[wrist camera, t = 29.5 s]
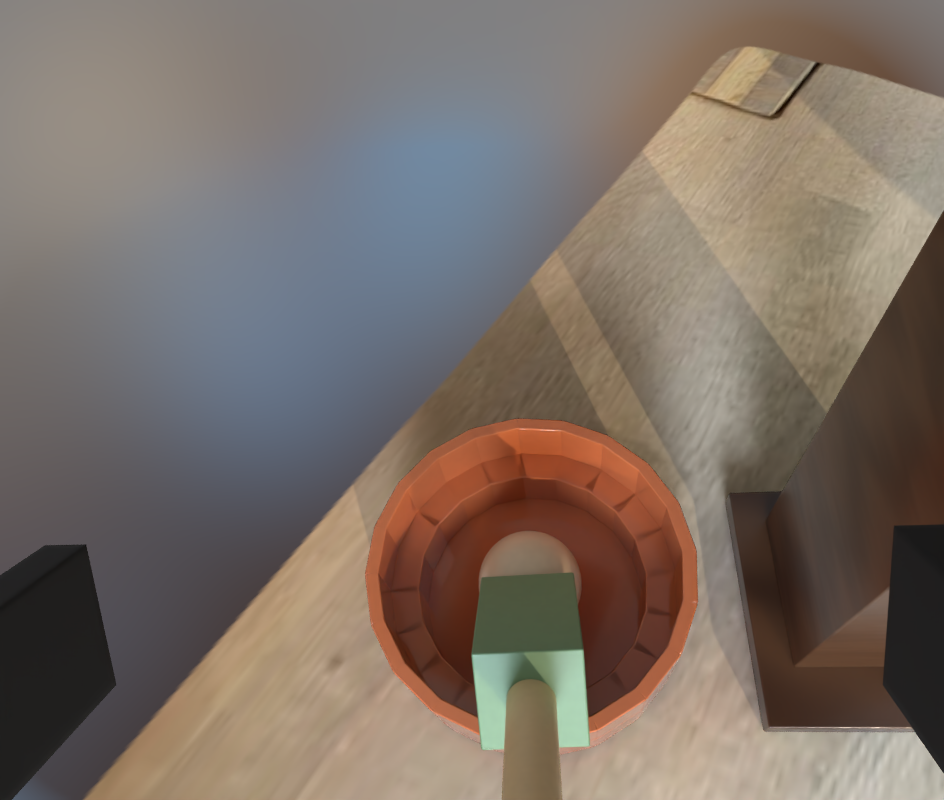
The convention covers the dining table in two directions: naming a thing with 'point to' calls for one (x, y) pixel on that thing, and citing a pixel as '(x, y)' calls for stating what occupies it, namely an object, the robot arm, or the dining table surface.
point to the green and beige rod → (530, 661)
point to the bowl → (548, 511)
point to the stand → (847, 524)
